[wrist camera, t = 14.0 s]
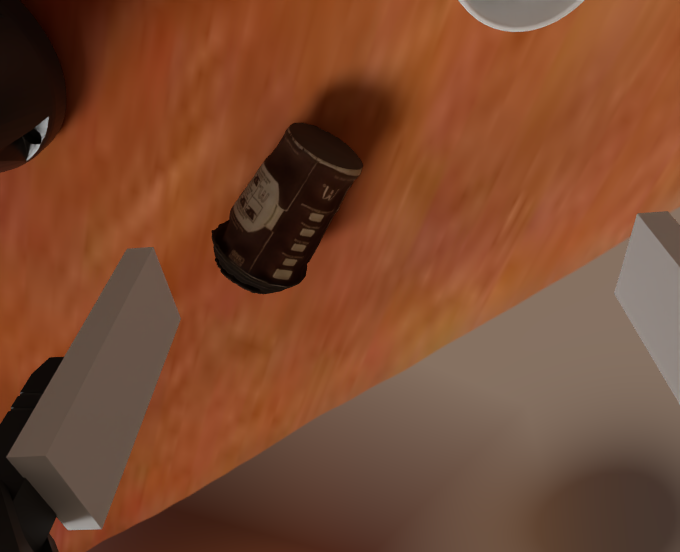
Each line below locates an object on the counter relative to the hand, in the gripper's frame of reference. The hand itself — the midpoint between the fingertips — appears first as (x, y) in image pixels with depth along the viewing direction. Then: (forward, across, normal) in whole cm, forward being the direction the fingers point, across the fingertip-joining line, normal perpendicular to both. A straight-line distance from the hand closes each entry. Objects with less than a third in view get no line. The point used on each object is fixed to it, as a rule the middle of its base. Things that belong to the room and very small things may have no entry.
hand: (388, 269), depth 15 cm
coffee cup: (+26, -4, -7) cm, 27 cm away
